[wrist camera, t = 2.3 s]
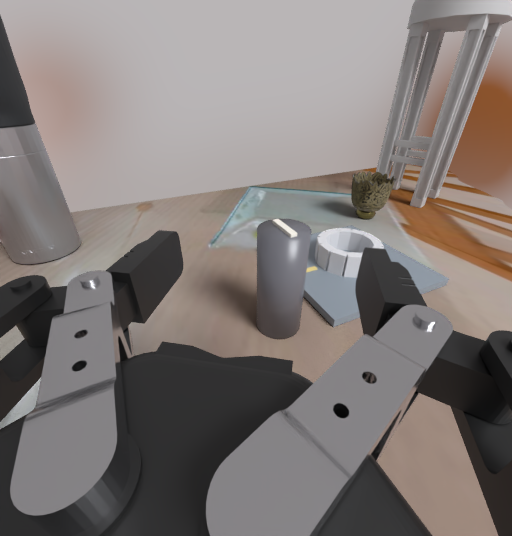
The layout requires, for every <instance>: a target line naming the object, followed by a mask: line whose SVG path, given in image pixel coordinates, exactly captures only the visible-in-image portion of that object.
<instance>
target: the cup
mask: <svg viewBox="0 0 512 536" xmlns="http://www.w3.org/2000/svg"><path fill="white" fill-rule="evenodd" d="M387 176H388V175H387V174H386V173H385V174H384V175H382V174H381V173H380V172H376V173H374V174H373V175H371V172H370V171H369V172H368V174H367V175H366V174H365V172H362V173H361V174H360V172H359V173H358V174H357V176H356V174H353V181H352V203H353V205H354V206H355V207H356V208H357V210H356V215H357V216H358V217H360V218H362V219H371V218H373V217H374V216H375V214H376V213H375V211H378V210H380V209H381V208H382V207H383V206H384V205H385V204H386V202H387V200H388V198H389V195H390V193H391V191H392V188H393V185H394V183H395V181H396V178H395V176H393V177H392V178H391V180H390V179H389V178H388V179H387Z"/></svg>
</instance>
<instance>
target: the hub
mask: <svg viewBox="0 0 512 536" xmlns="http://www.w3.org/2000/svg"><path fill="white" fill-rule="evenodd" d="M365 247H368V248H380V249H386V251H387V253H388V255H389V258H390V260H391V262H399V263H400V264H401V265H402V266H404V267H405V268H406V269H407V270H408V271H409V273H410V275H411V277H412V280H413V281H414V283H415V286H416V287H417V288H418V290H419V292H420V294H424V293H426V292H429V291H432V290H434V289H437V288H440V287H442V286H445V285H446V284H447V282H448V280H449V279H448V278H447V277H445V276H443V275H441V274H439V273H437V272H436V271H434V270H432V269H430V268H428V267H427V266H425V265H423V264H421V263H419V262H417V261H416V260H414V259H412V258H410V257H408V256H407V255H405V254H403V253H401V252H399V251H397V250H396V249H394V248H392V247H390V246H388V245H387V244H385V243H383V242H381V241H380V240H378V238H377V237H375V236H373V235H371V234H369V233H366V232H363V231H361V230H359V229H357V228H356V227H354V226H347V227H342V228H337V229H336V228H334V229H329V230H325V231H323V232H319V233H314V234H311V238H310V246H309V254H308V262H307V270H306V278H305V286H304V294H303V296H304V297H305V298H306V299H307V300H308V301H309V302H310V303H311V304H312V306H313V307H314V308H315V309H316V310H317V311H318V312H319V313H320V314H321V315H322V316H323V317H324V318H325V319H326V320H327V321H328V322H329V323H330V324H331V325H332V326H333V327H335V326H338V325H340V324H343V323H346V322H348V321H351V320H354V319H356V318H359V317H360V314H359V309H358V304H357V299H356V293H355V286H356V279H357V275H358V271H359V266H360V262H361V258H362V254H363V250H364V248H365Z"/></svg>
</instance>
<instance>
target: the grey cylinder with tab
mask: <svg viewBox="0 0 512 536" xmlns="http://www.w3.org/2000/svg"><path fill="white" fill-rule="evenodd" d="M310 238H311V229H310V227H309V226H308V225H306V224H305V223H302V222H300V221H296V220H291V219H273V220H268V221H265V222H263V223H261V224H260V225H259V226H258V228H257V327H258V329H259V330H260V332H261V333H263V334H264V335H265V336H267V337H270V338H274V339H286V338H289V337H291V336H293V335H294V334H296V333H297V331H298V330H299V326H300V318H301V310H302V302H303V294H304V286H305V278H306V270H307V262H308V254H309V246H310Z"/></svg>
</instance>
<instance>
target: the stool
mask: <svg viewBox="0 0 512 536" xmlns="http://www.w3.org/2000/svg"><path fill="white" fill-rule="evenodd" d="M510 20H512V0H415V2H414V4H413V6H412V10H411V15H410V19H409V23H408V28H407V29H410V31H409V35H408V39H407V43H406V48H405V52H404V56H403V60H402V65H401V69H400V73H399V78H398V82H397V86H396V90H395V94H394V99H393V103H392V107H391V111H390V115H389V119H388V124H387V128H386V132H385V136H384V141H383V145H382V149H381V154H380V157H379V162H378V166H377V170H376V172H380V173H381V174H382V175H384V174H385V173H386V174H387V175H388V176H387V179H388V177H389V174H390V170H391V166H392V162H393V161H394V164H393V168H392V172H391V176H390V180H391V178H392V177H393V176H395V178H396V181H395V183H394V185H393V188H392V189H394V190H396V189H398V188H400V184H401V181H402V177H403V174H404V171H405V167H406V164H412V165H418V166H422V169H421V172H420V175H419V178H418V181H417V185H416V188H415V191H414V194H413V197H412V200H411V203H410V206H414V207H418V208H421V207H422V206H424V205H425V202H426V199H427V197H430V198H436V197H438V195H439V192H440V190H441V187H442V184H443V182H444V179H445V176H446V174H447V171H448V168H449V166H450V163H451V160H452V157H453V155H454V152H455V150H456V147H457V144H458V142H459V139H460V136H461V134H462V131H463V128H464V126H465V123H466V120H467V118H468V115H469V112H470V110H471V107H472V104H473V102H474V99H475V96H476V94H477V91H478V88H479V86H480V83H481V80H482V78H483V75H484V72H485V70H486V67H487V64H488V61H489V59H490V56H491V53H492V51H493V48H494V45H495V43H496V40H497V37H498V35H499V32H500V30H501V27H502V24H504V23H506V22H508V21H510ZM464 30H466V33H465V36H464V39H463V42H462V45H461V48H460V51H459V54H458V58H457V61H456V64H455V67H454V70H453V73H452V76H451V79H450V83H449V85H448V89H447V92H446V95H445V98H444V101H443V104H442V107H441V110H440V113H439V116H438V119H437V123H436V126H435V129H434V132H433V135H432V138H431V137H420V136H415V133H416V129H417V126H418V123H419V119H420V115H421V112H422V109H423V105H424V102H425V98H426V95H427V91H428V88H429V85H430V81H431V78H432V74H433V71H434V67H435V64H436V61H437V57H438V54H439V50H440V47H441V43H442V40H443V36H444V33H445V32H455V31H464ZM427 32H429V33H428V37H427V41H426V45H425V48H424V52H423V56H422V59H421V63H420V67H419V71H418V75H417V78H416V82H415V86H414V89H413V93H412V97H411V101H410V104H409V108H408V112H407V116H406V119H405V123H404V127H403V131H402V135H401V139H400V140H398V139H399V136H400V131H401V128H402V124H403V120H404V116H405V113H406V109H407V105H408V101H409V97H410V94H411V90H412V86H413V82H414V79H415V74H416V71H417V67H418V63H419V59H420V56H421V52H422V48H423V45H424V41H425V37H426V33H427ZM397 146H398V150H397V153H396V155H395V151H396V147H397ZM411 148H415V149H423V150H427V152H421V151H413V150H411ZM409 156H413V157H420V158H425V159H418V158H412V157H409Z"/></svg>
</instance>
